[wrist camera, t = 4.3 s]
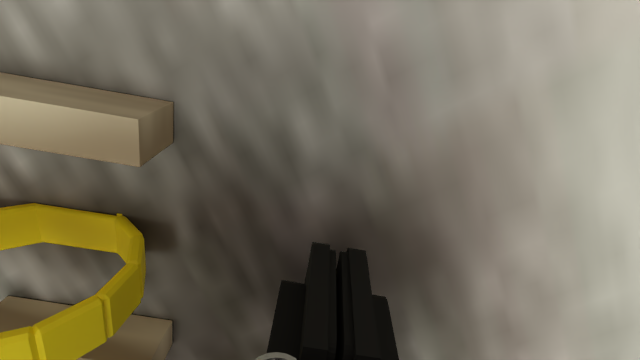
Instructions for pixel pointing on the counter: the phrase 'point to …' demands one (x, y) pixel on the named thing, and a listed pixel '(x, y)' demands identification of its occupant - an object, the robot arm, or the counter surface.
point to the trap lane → (93, 143)
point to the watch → (88, 315)
